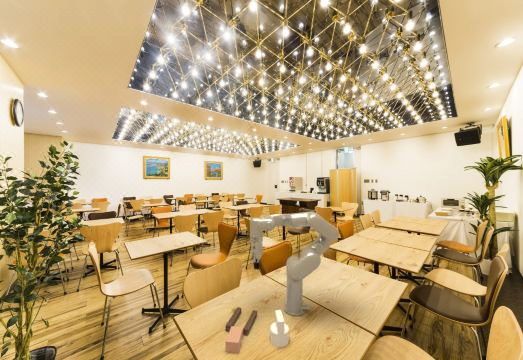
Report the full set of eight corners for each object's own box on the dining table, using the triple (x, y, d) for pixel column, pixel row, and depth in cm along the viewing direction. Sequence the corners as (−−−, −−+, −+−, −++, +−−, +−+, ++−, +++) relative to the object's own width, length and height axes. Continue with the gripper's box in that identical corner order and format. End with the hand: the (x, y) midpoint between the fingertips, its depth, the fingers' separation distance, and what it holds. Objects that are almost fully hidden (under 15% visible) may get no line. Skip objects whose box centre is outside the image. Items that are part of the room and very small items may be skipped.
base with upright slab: (269, 333, 107) (269, 310, 107) (286, 332, 108) (286, 309, 108) (271, 348, 98) (271, 322, 98) (290, 346, 99) (290, 321, 99)
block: (243, 337, 105) (243, 327, 105) (238, 353, 95) (238, 342, 95) (231, 336, 106) (231, 326, 106) (225, 352, 96) (225, 341, 96)
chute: (257, 315, 121) (257, 310, 121) (247, 336, 106) (247, 330, 106) (237, 312, 125) (237, 307, 125) (225, 331, 109) (225, 325, 109)
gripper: (258, 242, 119) (259, 275, 119) (265, 235, 133) (265, 264, 133) (246, 241, 121) (246, 273, 121) (254, 234, 135) (254, 263, 135)
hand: (256, 268), depth 127 cm, fingers closed
